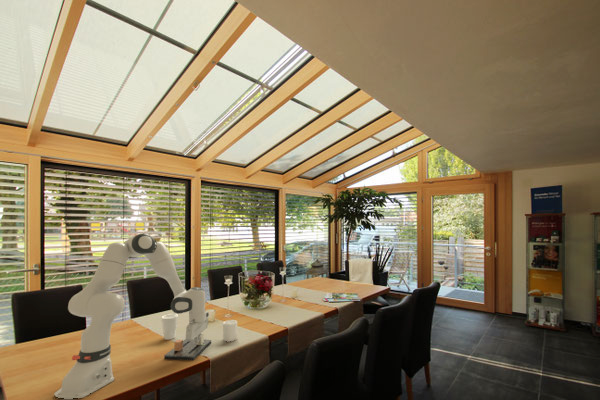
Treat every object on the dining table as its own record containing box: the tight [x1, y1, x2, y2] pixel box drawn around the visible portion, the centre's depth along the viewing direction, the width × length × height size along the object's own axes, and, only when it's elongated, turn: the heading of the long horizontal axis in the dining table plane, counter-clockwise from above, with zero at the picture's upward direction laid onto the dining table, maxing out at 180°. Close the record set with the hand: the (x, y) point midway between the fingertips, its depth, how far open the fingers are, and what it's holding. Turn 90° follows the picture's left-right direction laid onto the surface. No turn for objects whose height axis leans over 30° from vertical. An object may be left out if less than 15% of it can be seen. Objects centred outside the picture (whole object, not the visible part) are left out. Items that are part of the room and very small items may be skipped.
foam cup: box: [161, 313, 179, 341], centre depth 190 cm, size 10×9×13 cm
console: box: [163, 338, 212, 361], centre depth 169 cm, size 22×16×2 cm
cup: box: [222, 319, 238, 343], centre depth 187 cm, size 8×12×10 cm
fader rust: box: [173, 339, 184, 351], centre depth 165 cm, size 4×3×5 cm
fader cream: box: [196, 333, 205, 345], centre depth 173 cm, size 4×3×5 cm
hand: (197, 342), depth 170 cm, fingers closed
